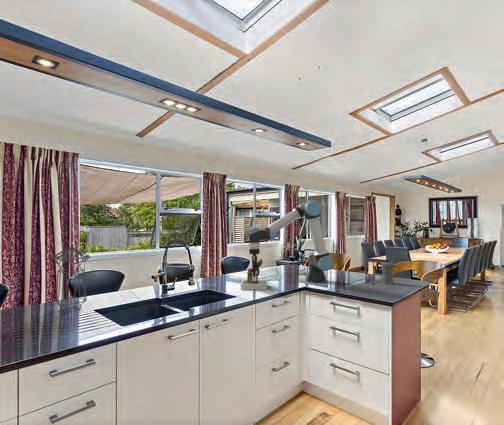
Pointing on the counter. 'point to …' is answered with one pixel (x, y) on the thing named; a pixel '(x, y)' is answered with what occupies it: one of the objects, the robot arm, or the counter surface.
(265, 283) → the mug holder
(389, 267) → the coffeepot
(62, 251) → the geometric lantern
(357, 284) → the counter surface
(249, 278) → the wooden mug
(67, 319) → the counter surface
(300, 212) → the robot arm
